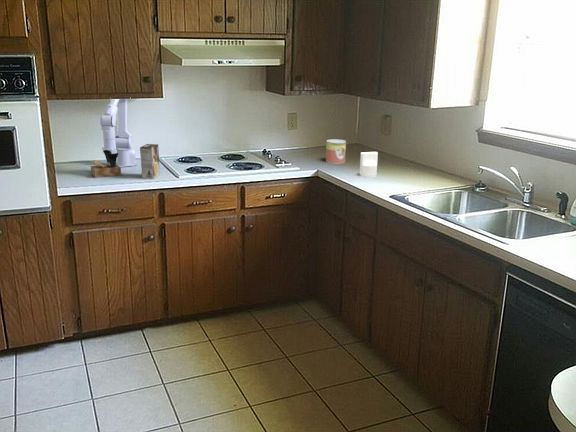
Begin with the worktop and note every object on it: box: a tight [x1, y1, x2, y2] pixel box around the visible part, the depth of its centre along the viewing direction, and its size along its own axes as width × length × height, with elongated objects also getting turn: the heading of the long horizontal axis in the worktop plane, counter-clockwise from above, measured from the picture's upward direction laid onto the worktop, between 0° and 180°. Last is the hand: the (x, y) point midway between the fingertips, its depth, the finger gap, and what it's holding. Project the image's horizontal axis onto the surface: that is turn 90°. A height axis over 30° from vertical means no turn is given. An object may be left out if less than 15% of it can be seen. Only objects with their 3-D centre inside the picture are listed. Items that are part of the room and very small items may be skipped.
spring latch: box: [93, 159, 105, 167], centre depth 303 cm, size 5×4×1 cm
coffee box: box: [139, 143, 161, 180], centre depth 301 cm, size 9×6×16 cm
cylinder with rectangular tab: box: [359, 151, 379, 178], centre depth 313 cm, size 9×9×12 cm
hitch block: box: [90, 164, 122, 179], centre depth 306 cm, size 13×10×4 cm
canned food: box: [325, 138, 347, 165], centre depth 343 cm, size 11×11×12 cm
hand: (111, 165), depth 307 cm, fingers open, 7 cm apart
